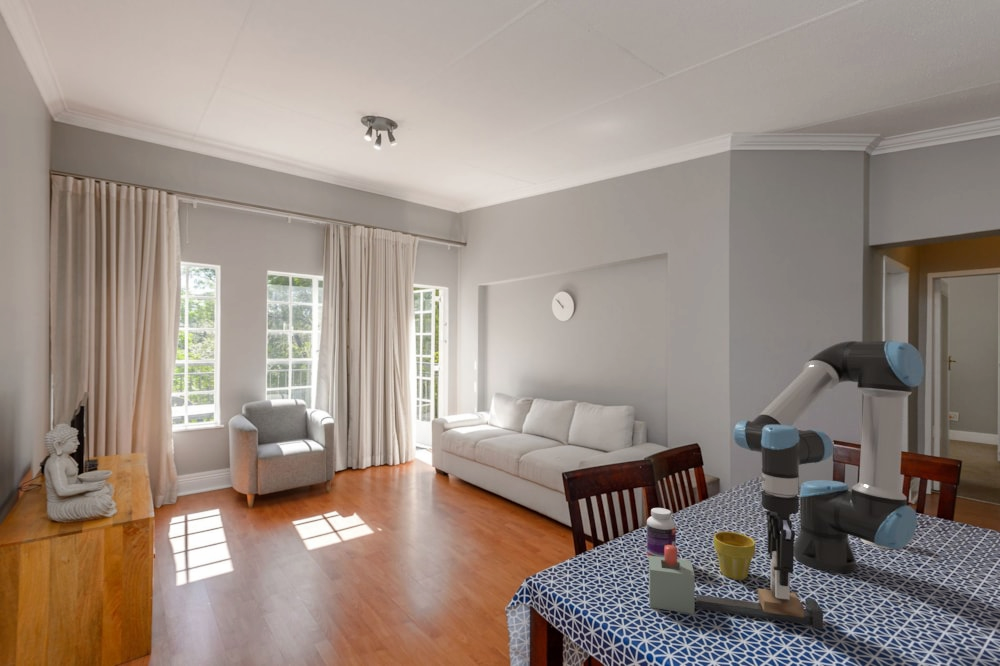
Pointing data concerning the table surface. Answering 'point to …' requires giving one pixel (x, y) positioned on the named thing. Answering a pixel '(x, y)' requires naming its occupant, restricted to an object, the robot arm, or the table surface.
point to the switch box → (671, 585)
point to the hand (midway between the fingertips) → (779, 593)
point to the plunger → (670, 555)
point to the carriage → (777, 604)
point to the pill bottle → (660, 532)
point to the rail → (761, 610)
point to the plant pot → (734, 553)
